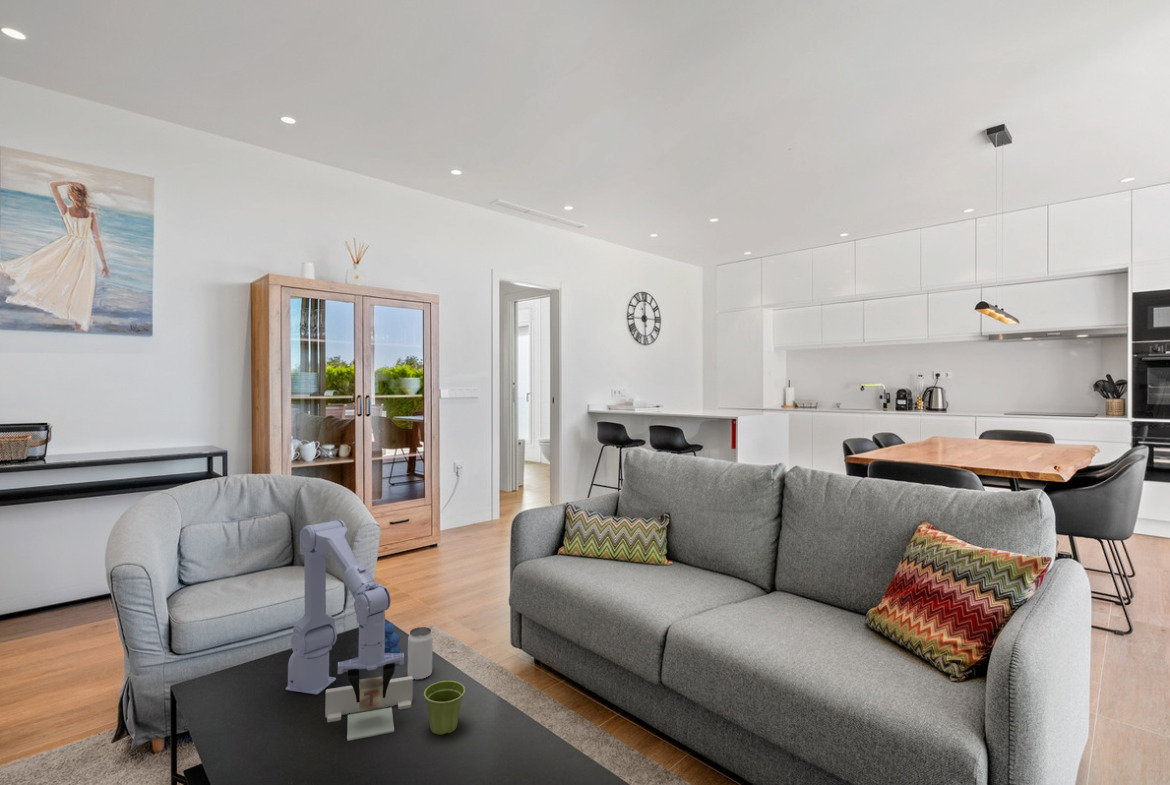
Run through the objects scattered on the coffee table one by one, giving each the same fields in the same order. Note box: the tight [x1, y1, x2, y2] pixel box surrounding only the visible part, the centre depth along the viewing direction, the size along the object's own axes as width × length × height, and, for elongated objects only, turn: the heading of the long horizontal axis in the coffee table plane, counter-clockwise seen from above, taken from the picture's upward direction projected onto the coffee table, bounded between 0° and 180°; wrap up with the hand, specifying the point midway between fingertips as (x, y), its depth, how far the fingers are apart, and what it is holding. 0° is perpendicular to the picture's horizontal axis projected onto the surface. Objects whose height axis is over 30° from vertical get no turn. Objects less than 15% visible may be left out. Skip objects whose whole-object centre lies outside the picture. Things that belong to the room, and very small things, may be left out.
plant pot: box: [423, 680, 466, 735], centre depth 136 cm, size 9×9×9 cm
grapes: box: [384, 619, 401, 653], centre depth 167 cm, size 12×7×12 cm, turn 64°
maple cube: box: [359, 675, 384, 713], centre depth 137 cm, size 5×5×5 cm
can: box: [407, 626, 434, 681], centre depth 160 cm, size 6×6×12 cm
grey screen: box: [324, 675, 414, 723], centre depth 144 cm, size 20×6×6 cm, turn 111°
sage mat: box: [346, 706, 395, 742], centre depth 137 cm, size 10×10×1 cm
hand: (370, 698), depth 137 cm, fingers closed on maple cube, 5 cm apart
